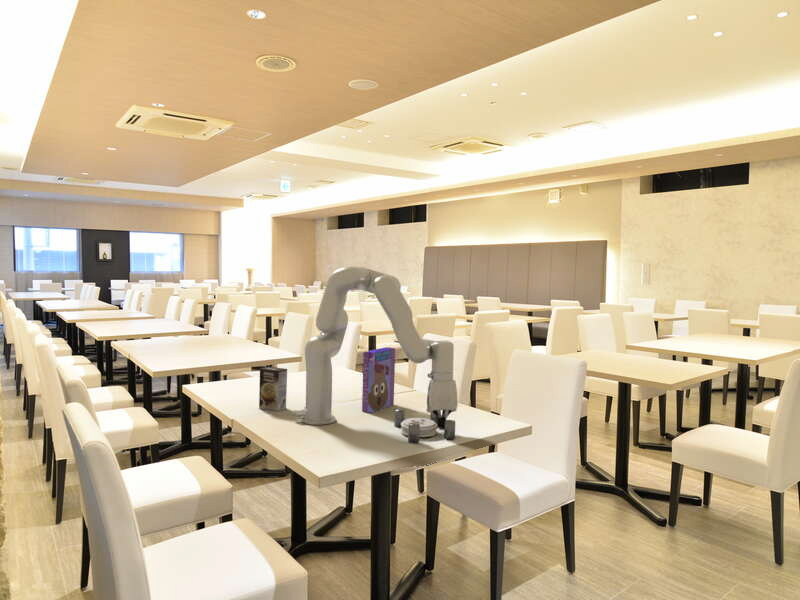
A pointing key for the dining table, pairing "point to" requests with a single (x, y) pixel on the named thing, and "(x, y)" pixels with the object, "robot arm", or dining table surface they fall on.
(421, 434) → the lid
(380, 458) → the dining table surface
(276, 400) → the coffee box
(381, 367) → the cereal box
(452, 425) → the post field
